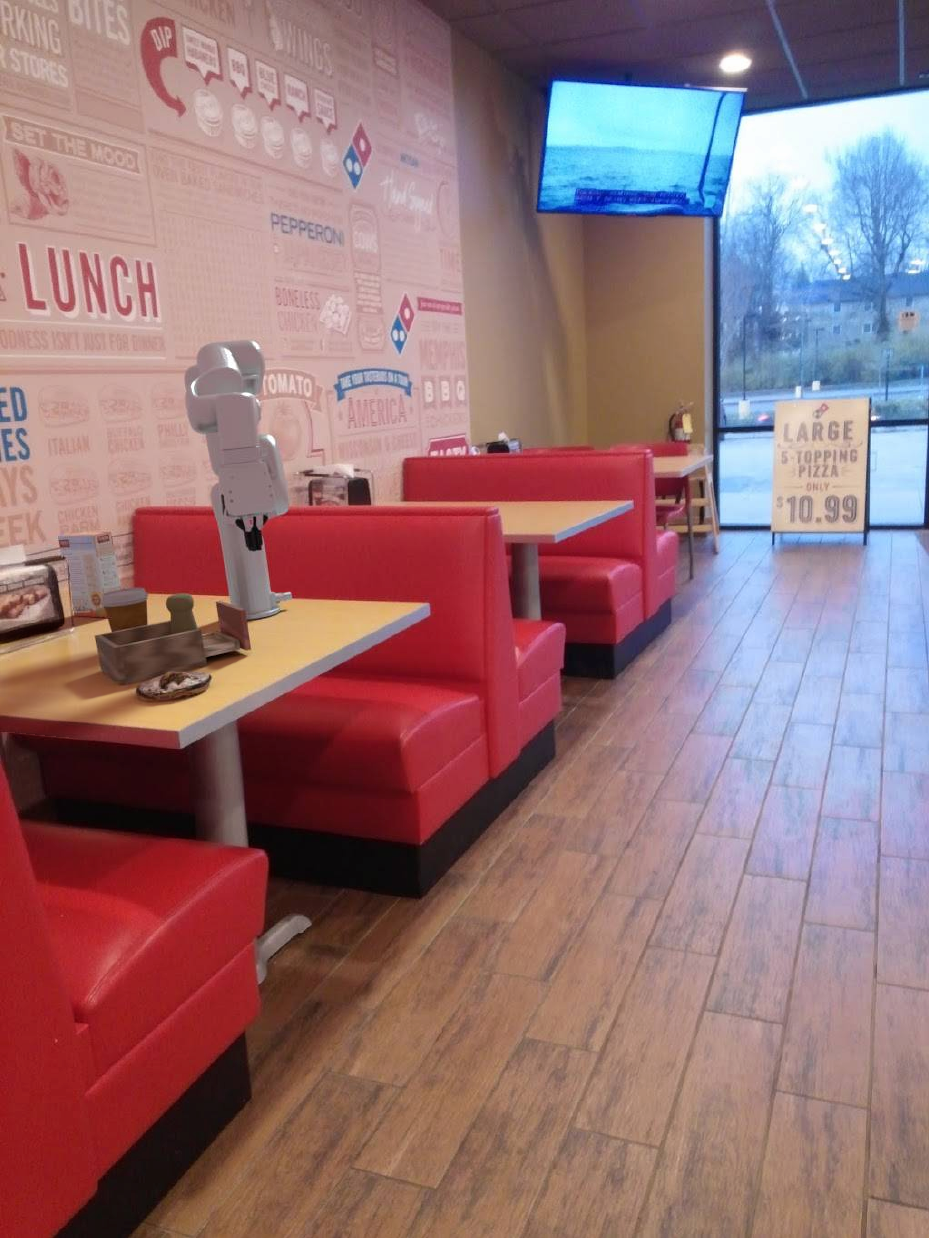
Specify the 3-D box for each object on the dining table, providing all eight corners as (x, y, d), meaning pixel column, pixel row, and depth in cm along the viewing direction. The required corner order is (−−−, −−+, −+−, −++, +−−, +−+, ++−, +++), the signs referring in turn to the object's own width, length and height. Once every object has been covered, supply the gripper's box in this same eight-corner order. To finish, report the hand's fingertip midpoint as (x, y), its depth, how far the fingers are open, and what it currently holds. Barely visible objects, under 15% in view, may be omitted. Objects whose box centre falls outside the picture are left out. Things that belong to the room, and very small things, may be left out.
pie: (184, 677, 180) (180, 655, 179) (237, 686, 171) (233, 663, 170) (113, 701, 169) (109, 678, 168) (166, 711, 160) (162, 687, 159)
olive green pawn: (194, 653, 187) (185, 596, 185) (165, 654, 188) (156, 598, 186) (208, 644, 193) (200, 590, 190) (180, 646, 194) (171, 591, 192)
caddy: (182, 652, 198) (176, 618, 196) (206, 665, 185) (201, 629, 184) (101, 670, 189) (94, 635, 188) (121, 685, 177) (114, 647, 175)
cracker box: (127, 613, 246) (112, 530, 241) (107, 618, 241) (91, 534, 236) (91, 611, 254) (76, 531, 249) (71, 616, 249) (56, 535, 244)
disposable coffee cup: (165, 641, 209) (156, 586, 206) (137, 653, 200) (127, 596, 198) (128, 642, 212) (119, 587, 210) (99, 653, 204) (89, 597, 201)
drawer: (226, 638, 202) (220, 600, 200) (251, 649, 190) (245, 609, 188) (149, 655, 193) (142, 616, 192) (170, 667, 182) (163, 626, 180)
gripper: (270, 453, 198) (282, 543, 202) (198, 462, 190) (212, 555, 194) (285, 453, 192) (297, 545, 196) (211, 462, 184) (225, 558, 188)
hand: (255, 550), depth 195 cm, fingers closed
